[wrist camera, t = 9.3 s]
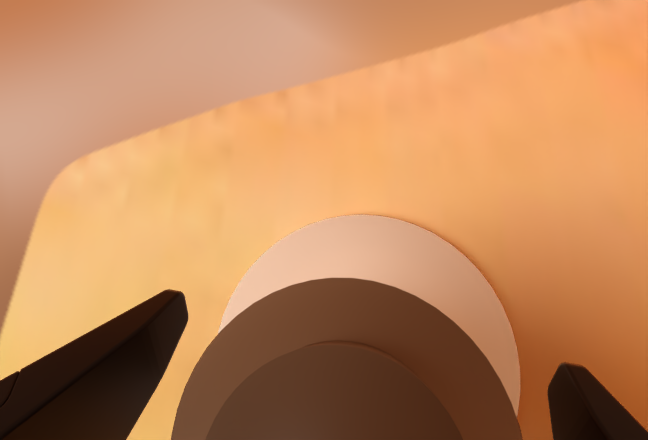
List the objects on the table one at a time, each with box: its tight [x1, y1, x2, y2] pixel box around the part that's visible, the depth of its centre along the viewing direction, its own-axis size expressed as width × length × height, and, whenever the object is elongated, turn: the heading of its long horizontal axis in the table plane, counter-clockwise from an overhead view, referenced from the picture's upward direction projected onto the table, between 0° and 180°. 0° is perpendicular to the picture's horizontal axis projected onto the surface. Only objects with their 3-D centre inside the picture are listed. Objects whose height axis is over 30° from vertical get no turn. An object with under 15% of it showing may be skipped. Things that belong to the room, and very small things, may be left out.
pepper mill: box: [171, 278, 523, 440], centre depth 11 cm, size 5×5×13 cm
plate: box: [218, 215, 520, 418], centre depth 17 cm, size 13×13×1 cm
